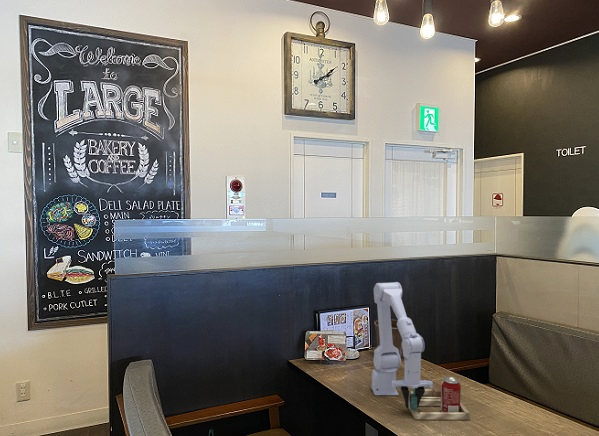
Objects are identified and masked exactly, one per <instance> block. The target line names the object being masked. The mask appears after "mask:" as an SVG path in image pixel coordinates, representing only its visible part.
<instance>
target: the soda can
mask: <svg viewBox="0 0 599 436" xmlns="http://www.w3.org/2000/svg"><path fill="white" fill-rule="evenodd" d="M440 387H441V406H440V411H441V412H460V401H461V391H462V390H461V387H462V386H461V384H460V380H459V379H458V378H455V377H452V376H445V377H443V378H442V381H441V383H440Z"/></svg>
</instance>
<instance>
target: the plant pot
mask: <svg viewBox="0 0 599 436" xmlns="http://www.w3.org/2000/svg"><path fill="white" fill-rule="evenodd" d="M397 322H398V319H391V327H392V340H393V346H395V347H396V348H397V349H398V350H399V355H400V358H402V357H403V349H402V341H403V340H402V337H401V335H400V332H399V329H398V327H397ZM373 324H374V326H375V328H374V329H375V333H376V348H377V347H378V346H380V336H379V322H378V319H376V320H375V321H374V323H373ZM389 353H392V352H389Z"/></svg>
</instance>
